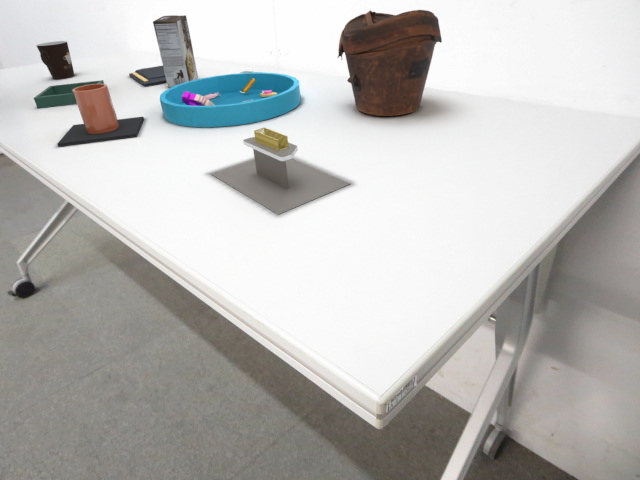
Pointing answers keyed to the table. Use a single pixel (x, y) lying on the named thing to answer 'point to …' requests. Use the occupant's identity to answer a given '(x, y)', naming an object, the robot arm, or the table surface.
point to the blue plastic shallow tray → (230, 99)
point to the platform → (277, 174)
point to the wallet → (149, 76)
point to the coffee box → (175, 49)
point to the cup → (96, 108)
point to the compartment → (59, 94)
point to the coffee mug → (57, 59)
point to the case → (389, 59)
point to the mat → (81, 136)
